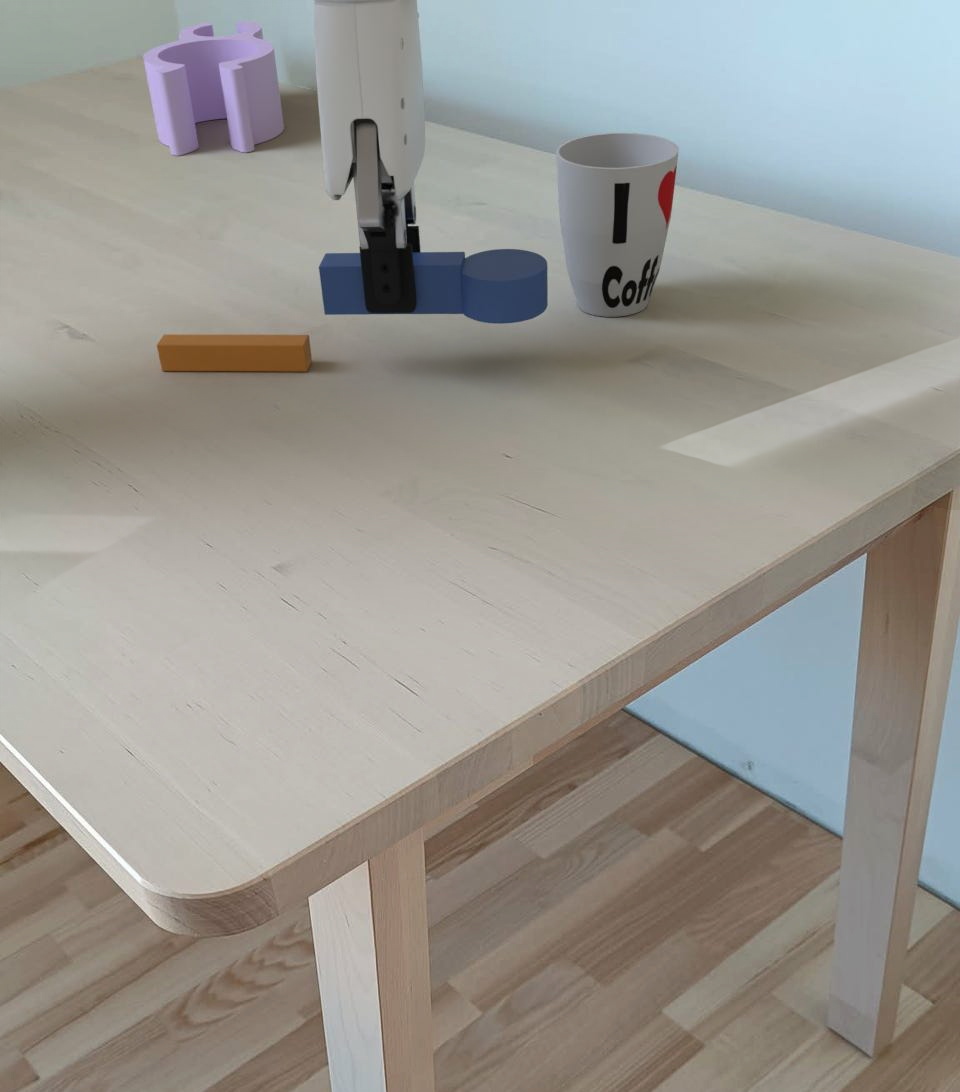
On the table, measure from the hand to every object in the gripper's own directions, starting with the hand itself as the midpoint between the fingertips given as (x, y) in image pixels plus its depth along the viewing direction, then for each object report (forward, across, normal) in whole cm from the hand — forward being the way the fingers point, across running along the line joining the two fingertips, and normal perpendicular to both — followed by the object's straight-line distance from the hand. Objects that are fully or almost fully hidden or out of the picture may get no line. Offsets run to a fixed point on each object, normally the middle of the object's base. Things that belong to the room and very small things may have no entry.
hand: (394, 299), depth 82 cm
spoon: (+1, 0, +2) cm, 2 cm away
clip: (+5, -58, -26) cm, 64 cm away
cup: (+5, -11, +14) cm, 18 cm away
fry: (+4, 0, -11) cm, 12 cm away
